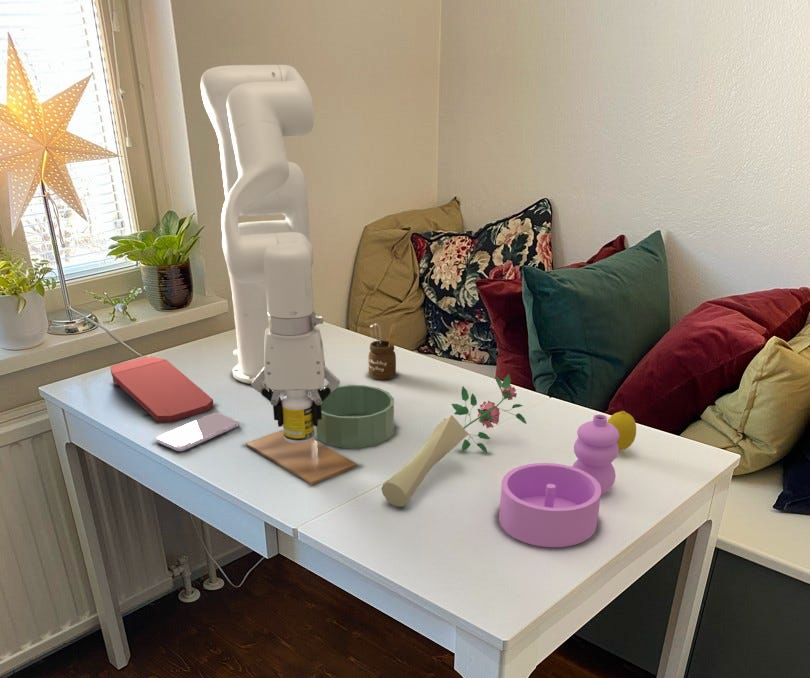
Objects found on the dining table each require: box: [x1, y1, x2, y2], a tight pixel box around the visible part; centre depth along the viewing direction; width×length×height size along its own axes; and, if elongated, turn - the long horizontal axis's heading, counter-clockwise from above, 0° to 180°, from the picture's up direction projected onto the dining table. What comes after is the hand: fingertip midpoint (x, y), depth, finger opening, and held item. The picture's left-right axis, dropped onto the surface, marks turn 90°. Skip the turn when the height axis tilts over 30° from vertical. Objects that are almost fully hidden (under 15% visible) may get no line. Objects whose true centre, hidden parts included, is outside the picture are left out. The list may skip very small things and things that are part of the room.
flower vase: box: [381, 374, 527, 508], centre depth 153 cm, size 12×12×35 cm
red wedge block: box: [109, 355, 214, 423], centre depth 179 cm, size 12×5×25 cm
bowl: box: [312, 384, 395, 449], centre depth 165 cm, size 15×15×6 cm
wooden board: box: [245, 429, 358, 486], centre depth 158 cm, size 20×10×1 cm, turn 42°
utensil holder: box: [367, 323, 397, 381], centre depth 187 cm, size 6×6×12 cm
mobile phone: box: [155, 412, 240, 452], centre depth 165 cm, size 8×1×15 cm
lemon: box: [607, 410, 637, 452], centre depth 157 cm, size 6×6×8 cm
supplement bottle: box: [281, 390, 315, 443], centre depth 153 cm, size 5×5×10 cm
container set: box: [498, 414, 620, 548], centre depth 139 cm, size 25×15×13 cm, turn 140°
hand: (298, 422), depth 154 cm, fingers closed on supplement bottle, 5 cm apart
